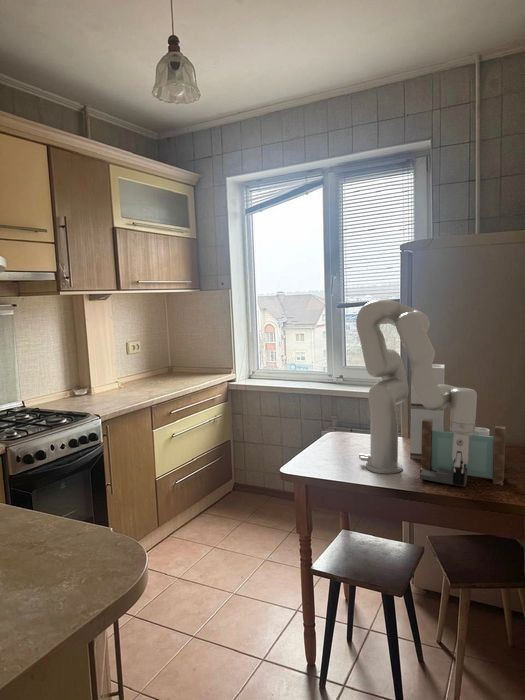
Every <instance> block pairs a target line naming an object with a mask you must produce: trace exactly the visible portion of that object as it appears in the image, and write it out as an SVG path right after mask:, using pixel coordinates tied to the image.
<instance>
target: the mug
mask: <svg viewBox="0 0 525 700" xmlns="http://www.w3.org/2000/svg"><path fill="white" fill-rule="evenodd" d="M474 434H475V435H484V436H490V429H489V428H486V427H481V426H480V427H477V426H475V433H474Z"/></svg>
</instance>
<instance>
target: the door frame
mask: <svg viewBox="0 0 525 700" xmlns="http://www.w3.org/2000/svg"><path fill="white" fill-rule="evenodd" d="M432 421H433V420H427V419H423V420H422V453H421V459H420V460H421V461H420V462H421V463H420V465H421V466H420V468H419V474H420V473H421V471H422V470H427V471H433V470H432ZM505 449H506V426H501V425H500V426H499V425H495V427H494V454H493V479H492V485H496V484H501V485H500V486H504V482H503V481H504V480H505V452H506V451H505Z"/></svg>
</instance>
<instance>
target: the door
mask: <svg viewBox="0 0 525 700" xmlns="http://www.w3.org/2000/svg"><path fill="white" fill-rule="evenodd" d="M494 441H495V435H494V436H492V435H491V436H490V435H489V436H484V435H475V434H472V442H471V460H470V462H469V464H468V465H466V467H465V468H467V476H471V477H478V478H479V477H480V478H484V479H492V480H493V473H494ZM452 446H453V432H451V431H445V430H443V431H436V430H433V431H432V470H431V471H433V472H436V471H437V469H438V468H441V469H447V470H451V469H452V467H453V466H454V465H455V463H453V462H452Z"/></svg>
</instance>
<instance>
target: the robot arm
mask: <svg viewBox="0 0 525 700" xmlns="http://www.w3.org/2000/svg"><path fill="white" fill-rule="evenodd" d="M355 320H356V323H355V324H356V331H357V334H358V337H359V341H360V346H361V347H360V348H361V352H362V356H363V360H364V365H365V369H366V371H367V373H368V374H369V376H370V377H372V378H381V380H379V381H377V382H375V383H374V384H373V385H371V387H370V389H369V391H368V395H367V396H368V397H367V398H368V404H369V405H368V406H369V412H370V444H369V445H370V447H369V448H370V450H369V453H368V454H365V453H359V456H358V459H359V460H360V461H363V462H365V461H366V463H365V468H366V469H367V470H368V471H370V472H373V473H377V474H385V475H386V474H387V475H388V474H389V475H390V474H396V473H397V474H398V473H399V472H401V471H402V470H403V466H402V464H401V463H400V462H398V461H399V459H398V458H399V457H398V456H399V455H398V454H399V453H398V452H399V416H398V411H397V407H396V406H397V405H399V404H401V403H404V402H405V401H406V400H407V399H408V396H409V390H410V389H409V383H408V380H407V374H406V370H405V366H404V362H403V359H402V357H401V355H400V354H399V353H398V352H397V351H396V350H394V349H390V348H388V347H387V345H386V339H385V336H384V333H383V332H382V330H381V325H387V324H389V325H392V326H394V327H395V329H396V331H397V334H398V336H399V338H400V340H401V343H402V345H403V348H404V350H405V352H406V355H407V356H408V359H409V363H410V374H411V377H412V383H413V386H414V388H415V391H416V393H417V395H418V398H419V400H420V402H421V403H422V405H423V406H424V407H425V408H427V409H428V410H431V411H436V410H440V409H442V408H444V409H445V408H448V407H449V408H450V415H449V432H453V446H452V462H453V463H455V465H454V472H453V484H455V485H454V486H458V485H461V486H460V487H463V485H464V473H463V472H464V468H465V467H466V465H468V464H469V462H470V460H471V442H472V434H474V433H475V427H476V419H477V418H476V416H477V400H478V398H477V397H478V393H477V391H476V390H475V389H473V388H468V387H457V386H453V385H450V384H445V383H444V384H439V385H437V383H436V381H435V379H434V376H433V372H432V364H433V362H434V360H435V356H436V351H435V349H434V346H433V344H432V341H431V340H430V337H429V336H428V332H429V329H430V327H431V322H430V318H429V317H428V315H426V314H425V313H424V312H422V311H420V310H418V309H416V308H413V307H410V306H408V305H405V304H404V303H401V302H400V301H396V300H392V299H375V300H371V301H369V302H367V303H365V304H364V305H362V307H361V308H360V309H359V310H358V313H357V315H356V318H355ZM411 377H410V378H411Z"/></svg>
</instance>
